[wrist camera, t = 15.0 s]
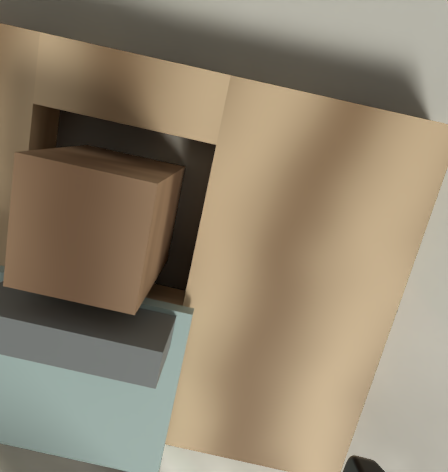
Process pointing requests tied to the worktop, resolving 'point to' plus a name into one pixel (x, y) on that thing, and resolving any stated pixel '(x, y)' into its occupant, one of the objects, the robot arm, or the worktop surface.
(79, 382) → the cover
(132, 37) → the worktop surface
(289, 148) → the wooden board with hole
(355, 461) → the robot arm
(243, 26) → the worktop surface
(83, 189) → the block
